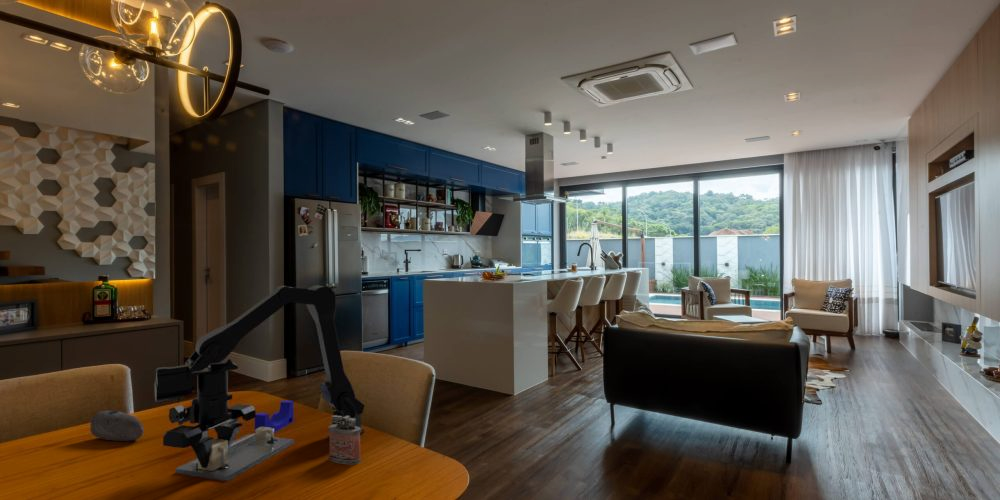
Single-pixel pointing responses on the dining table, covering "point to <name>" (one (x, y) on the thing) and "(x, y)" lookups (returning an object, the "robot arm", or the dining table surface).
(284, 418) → the cable clip
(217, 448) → the block
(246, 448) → the drilled plate
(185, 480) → the dining table surface
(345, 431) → the lighter
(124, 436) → the perforated stone tool
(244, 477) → the dining table surface
